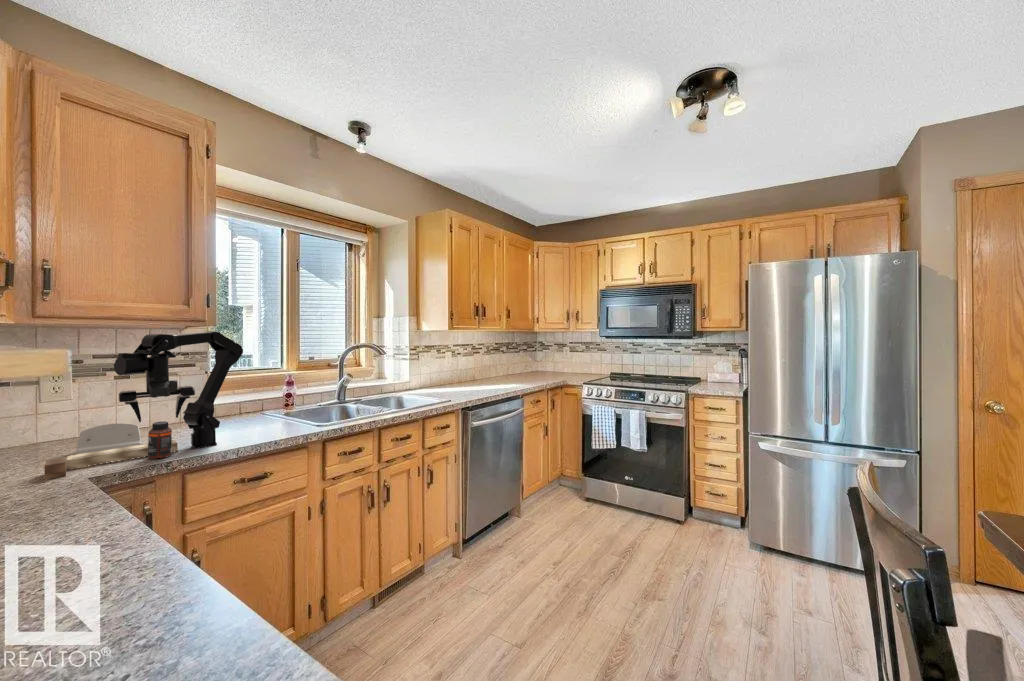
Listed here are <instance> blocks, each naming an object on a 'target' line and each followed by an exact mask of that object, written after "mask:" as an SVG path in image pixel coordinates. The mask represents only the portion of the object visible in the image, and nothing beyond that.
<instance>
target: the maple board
mask: <svg viewBox="0 0 1024 681" xmlns="http://www.w3.org/2000/svg"><path fill="white" fill-rule="evenodd" d="M174 451H178V442H177V441H176V439H172V446H171V452H173V453H175V452H174ZM144 456H148V443H145V444H142V445H137V446H130V447H124V448H117V449H110V450H104V451H97V452H90V453H84V454H77V455H76V454H72V455H67V456H66V459H67V469H70V470H74V469H73V468H76V469H80V468H79V467H82V468H85V467H84V466H88V465H94V464H100V463H106V462H111V461H118V460H124V461H126V460H125V459H130V460H133V459H132V458H136V459H139V458H138V457H143V458H145V457H144ZM118 462H119V461H118ZM106 464H107V463H106ZM100 465H101V464H100ZM94 466H95V465H94ZM88 467H89V466H88Z"/></svg>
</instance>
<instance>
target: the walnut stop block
mask: <svg viewBox="0 0 1024 681" xmlns="http://www.w3.org/2000/svg"><path fill="white" fill-rule="evenodd" d="M43 467H44V480H46V479H47V480H52V479H51V478H53V479H57V478H56V477H58V478H63V477H62V476H64V477H66V476H67V473H66V472H68V470H67V456H65V457H59V458H58V457H57V458H52V459H46V461H45V462H44V466H43Z"/></svg>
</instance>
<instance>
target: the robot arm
mask: <svg viewBox="0 0 1024 681" xmlns="http://www.w3.org/2000/svg"><path fill="white" fill-rule="evenodd" d="M206 343H207V344H208V345H209V347H210V348H211V349H213V350H214V351H215V353H214V359H215V360H214V361H215V362H214V363H215V364H214V366H213V368H212V370H211V372H210V374H209V376H208V378H207V379H206V382H205V384H204V386H203V388H202V391H200V394H199V396H198V399H196V401H194V402H191V401H190V402H188V404H187V406H186V409H185V410H183V412H182V414H183V417H182V418H183V419H182V420H183V421H184V423H185V424H186V425H187V426H188V429H190V430H191V429H192V433H190V445H191V446H192V447H193V446H194V447H195V448H194V447H193V448H194V449H199V448H198V447H200V448H205V446H206V447H212V446H217V445H218V443H217V440H216V435H217V433H216V429H218V428H219V427H220V424H221V421H220V420H219V419H217V418H216V417H214V414H215V401H216V399H217V396H218V394H219V393H220V391H221V387H222V386H223V384H224V382H225V380H226V378H227V375H228V373H229V371H230V368H231V367H232V366H234V365H235V364H237V362H238V361H239V360H240V358H241V357H242V355H243V353H244V349H243V347H242V345H241V344H239V343H237V342H235V341H234V340H232V339H230V338H229V337H227V336H225V335H224V334H222V333H221V332H219V331H216V330H214V331H213V330H210V331H206V332H193V333H184V334H170V333H169V334H167V333H149V334H146V335H144V337H143V338H142V340H141V343H140V344H139V345H138V346H137V348H136V349H135V350H134V351H133V352H132V353H131V352H130V353H128V352H123V353H122V352H121V353H120V352H119V353H118V354H117V356H118V357H117V358H116V359H115V361H114V363H113V369H114V373H116V375H117V376H128V375H129V376H130V375H140V374H141V375H142V374H144V373H145V382H146V385H145V386H146V391H140V392H139V391H136V390H134V389H133V390H121V391H119V392H118V402H119V403H124V404H125V405H129V406H131V408H132V409H133V412H134V413H135V416H136V418H137V420H138V422H139V423H141V422H142V417H141V412H140V404H139V401H138V399H142V398H153V399H155V398H159V397H163V398H164V397H165V398H167V397H169V396H174V395H176V404H175V418H179V416H180V412H181V411H182V410H181V409H182V407H183V405H184V403H185V401H186V400H187V399H191V396H196V390H195V387H193V386H191V385H185V386H184V385H183V386H178V380H174V379H173V380H170V373H169V371H170V370H169V367H170V366H169V359H171V358H173V359H174V358H176V357H177V356H176V355H175V353H172V352H171V351H172V350H174V349H177V348H178V347H182V346H190V345H198V344H206Z"/></svg>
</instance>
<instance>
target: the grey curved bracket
mask: <svg viewBox="0 0 1024 681" xmlns="http://www.w3.org/2000/svg"><path fill="white" fill-rule="evenodd" d="M137 445H143V441H142V435H141V429H140V427H139V425H136V424H133V423H132V424H131V423H108V424H102V425H97V426H94V427H90V428H86V429H84V430H82V431H80V433H79V436H78V442H77V446H76V451H75V455H77V454H84V453H90V452H97V451H104V450H110V449H117V448H124V447H130V446H137Z"/></svg>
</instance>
